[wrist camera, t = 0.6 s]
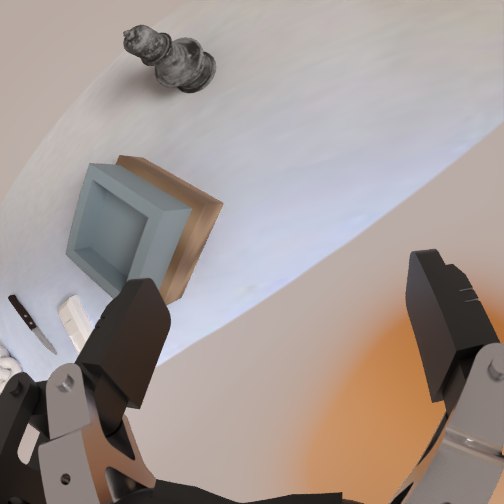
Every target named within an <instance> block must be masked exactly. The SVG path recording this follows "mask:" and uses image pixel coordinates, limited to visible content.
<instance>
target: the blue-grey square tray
mask: <svg viewBox="0 0 504 504" xmlns="http://www.w3.org/2000/svg"><path fill="white" fill-rule="evenodd" d="M191 211H192V208H191V207H189V206H187V205H186V204H184V203H183V202H181V201H179V200H178V199H176V198H174V197H173V196H171V195H169V194H168V193H166V192H164V191H163V190H161V189H159V188H158V187H156V186H154V185H153V184H151V183H149V182H148V181H146V180H144V179H143V178H141V177H139V176H138V175H136V174H134V173H133V172H131V171H129V170H127V169H126V168H124V167H122V166H121V165H111V164H94V163H89V167H88V170H87V173H86V176H85V179H84V183H83V186H82V189H81V193H80V196H79V200H78V204H77V207H76V211H75V215H74V219H73V223H72V228H71V232H70V236H69V241H68V245H67V250H66V255H67V256H68V257H69V258H70V259H71V260H72V261H73V262H74V263H75V264H76V265H77V266H78V267H79V268H80V269H81V270H83V271H84V272H85V273H86V274H87V275H88V276H89V277H90V278H91V279H92V280H93V281H94V282H95V283H97V284H98V285H99V286H100V287H101V288H102V289H103V290H104V291H105V292H107V293H108V294H109V295H110V296H111V297H112V298H113V299H114V298H115V297H116V296H117V295H119V293H120V292H121V290H122V288H123V287H124V285H125V284H126V282H127V281H128V280H130V279H140V278H151V279H152V280H153V281H154V282H155V284H156V286H157V288H158V290H160V287H161V284H162V282H163V279H164V277H165V274H166V272H167V269H168V266H169V264H170V261H171V259H172V256H173V254H174V251H175V249H176V247H177V244H178V242H179V239H180V237H181V234H182V232H183V230H184V227H185V225H186V223H187V220H188V218H189V216H190V213H191Z"/></svg>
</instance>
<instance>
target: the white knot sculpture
mask: <svg viewBox="0 0 504 504" xmlns="http://www.w3.org/2000/svg"><path fill="white" fill-rule="evenodd" d="M0 357H1V358H0V393H2V391H3V389H4V387H5V385H6V383H7V382H8V380H9V379H10V378H11V377H12V376H14V375H15V374H17V373H19V372H22V368H21V365H20V364H19V362H18V361H17V360H15V359H14V358H11V357H10V354H9V352H8V351H7V349H6V348H5V347H3V346H0ZM9 369H11V370H9Z"/></svg>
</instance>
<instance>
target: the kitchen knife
mask: <svg viewBox="0 0 504 504" xmlns="http://www.w3.org/2000/svg"><path fill="white" fill-rule="evenodd" d="M8 299H9V301H10V302H11V304H12V305H13V306H14V308H15V309H16V311H17V312H18V313H19V315H20V316H21V317H22V319H23V320H24V321H25V323H26V324H27V325H28V327H29V328H30V329H31V331H33V332H34V333H35V335H36V336H37V337H38V338H39V340H40V341H41V342H42V343H43V345H44V346H45V347H47V348H48V349H49V350H50V351H52V352H53V353H54V354H56V355H57V352H56V351H55V349H54V347H53V346H52V344H51V343H50V342H49V341H48V339H47V338H46V337H45V336H44V334H43V333H42V332H41V331H40V329H39V328H38V327H36V325H35V323H34V322H33V320H32V318H31V317H30V315H29V314H28V312H27V311H26V310H25V308H24V307H23V306H22V305H21V304H20V303H19V302H18V300H17V298H16V296H15V295H10V296H9V297H8Z"/></svg>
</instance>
